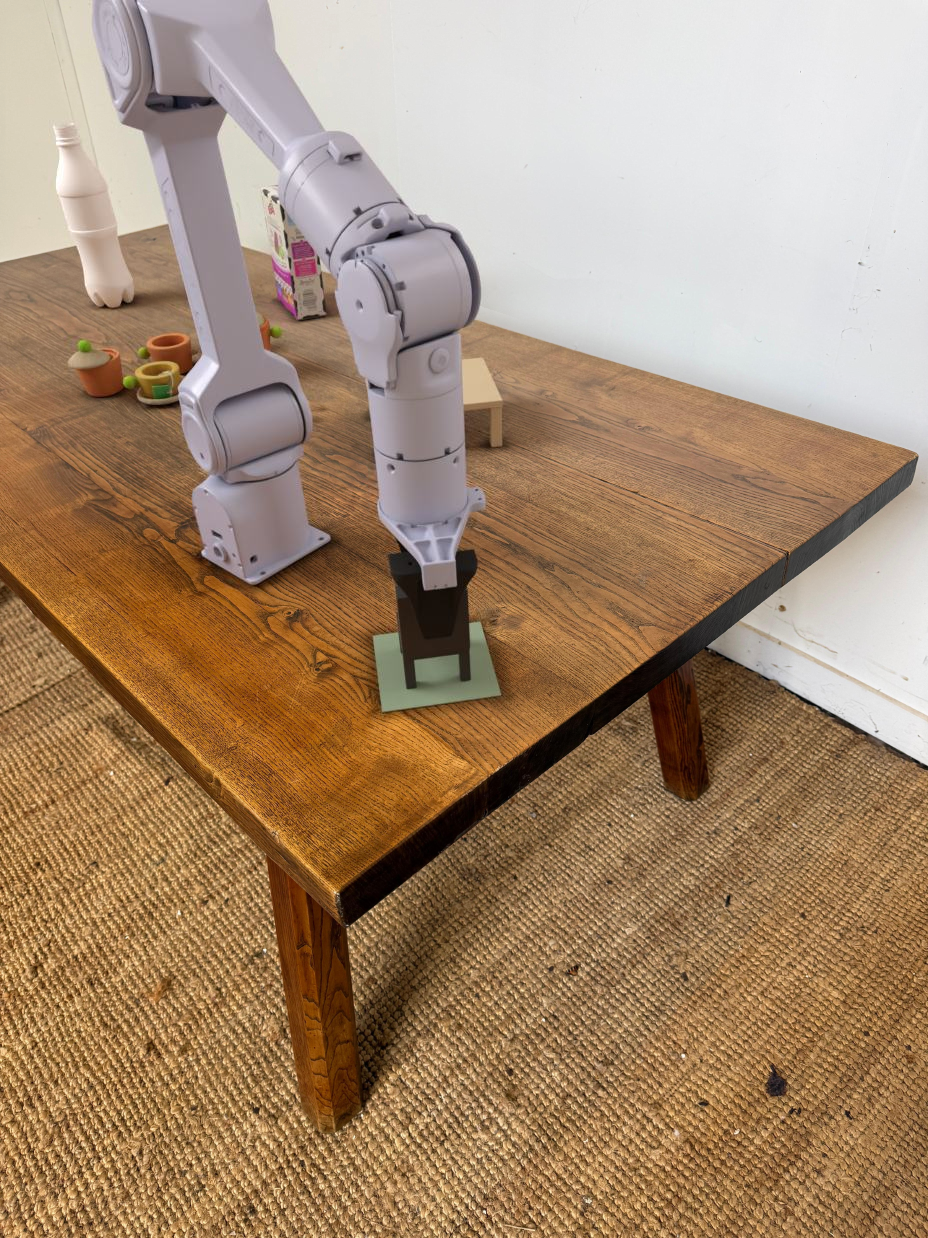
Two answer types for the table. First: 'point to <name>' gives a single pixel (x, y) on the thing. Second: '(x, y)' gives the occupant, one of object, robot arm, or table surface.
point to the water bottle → (91, 221)
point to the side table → (481, 395)
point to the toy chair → (438, 647)
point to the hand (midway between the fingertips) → (432, 611)
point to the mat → (433, 675)
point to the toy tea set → (147, 366)
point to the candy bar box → (293, 261)
